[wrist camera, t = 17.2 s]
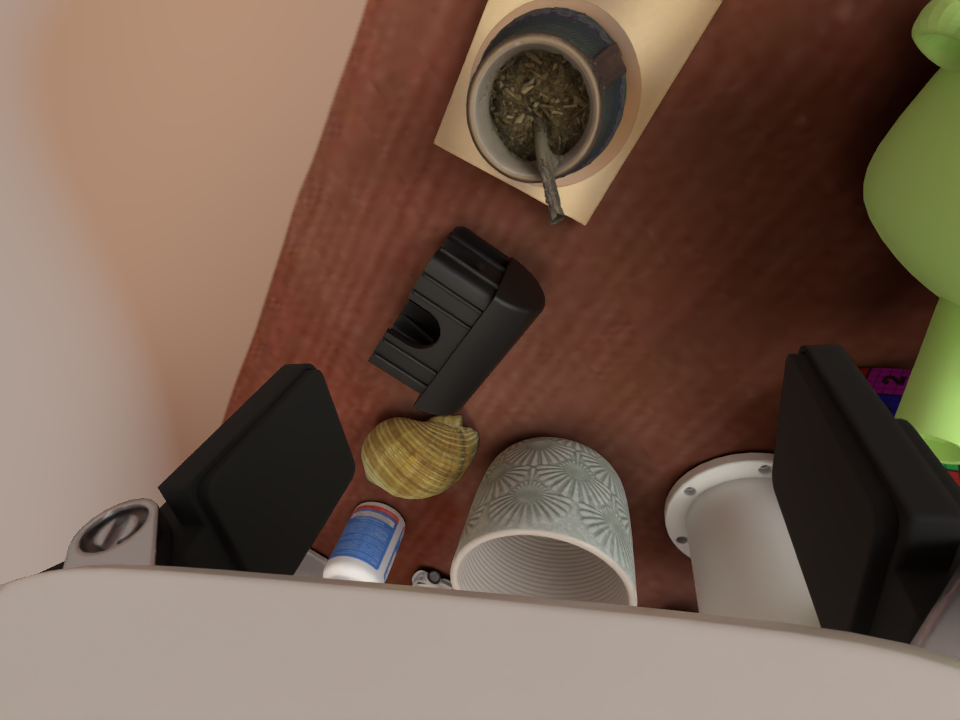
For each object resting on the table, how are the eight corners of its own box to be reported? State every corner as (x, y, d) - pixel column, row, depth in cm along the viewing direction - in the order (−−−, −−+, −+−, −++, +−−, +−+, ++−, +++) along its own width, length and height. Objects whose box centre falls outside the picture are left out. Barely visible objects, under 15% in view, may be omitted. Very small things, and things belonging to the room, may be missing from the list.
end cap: (474, 375, 40) (452, 432, 35) (394, 324, 39) (358, 374, 34) (552, 278, 35) (541, 327, 29) (462, 216, 34) (433, 254, 28)
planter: (515, 395, 40) (487, 502, 31) (662, 459, 41) (676, 583, 32) (462, 494, 47) (427, 604, 38) (588, 548, 48) (582, 670, 39)
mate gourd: (587, -29, 25) (569, -58, 16) (653, 124, 27) (667, 165, 19) (461, 65, 28) (393, 80, 20) (531, 193, 30) (498, 255, 22)
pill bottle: (344, 502, 52) (295, 591, 43) (391, 496, 50) (348, 588, 42) (370, 540, 54) (327, 632, 46) (416, 536, 52) (379, 630, 44)
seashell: (470, 387, 46) (419, 379, 39) (507, 460, 44) (461, 465, 37) (389, 443, 49) (329, 444, 42) (420, 514, 47) (362, 528, 40)
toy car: (420, 562, 54) (411, 588, 51) (491, 595, 54) (485, 622, 52) (409, 580, 56) (399, 606, 53) (477, 611, 56) (471, 638, 54)
